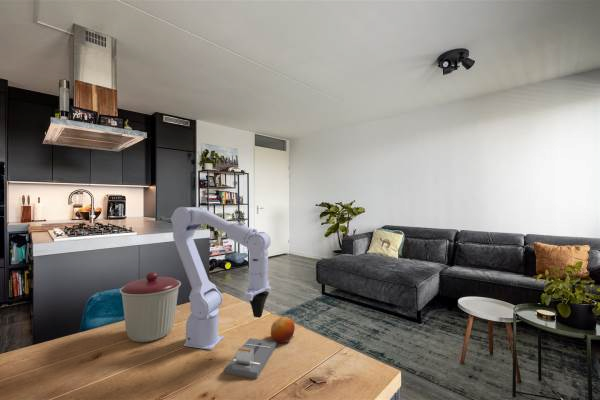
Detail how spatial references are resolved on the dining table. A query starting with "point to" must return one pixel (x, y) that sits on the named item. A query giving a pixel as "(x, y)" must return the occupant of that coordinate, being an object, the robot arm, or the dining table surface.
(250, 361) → the fader cap
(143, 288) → the canister
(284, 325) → the fruit
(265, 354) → the board
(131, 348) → the dining table surface
